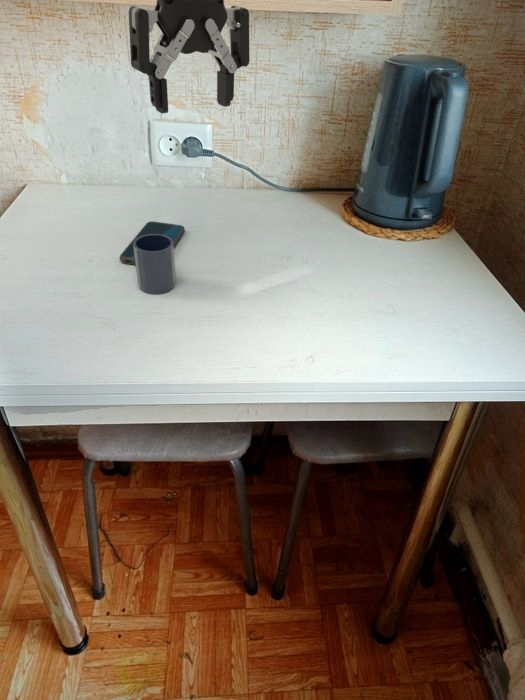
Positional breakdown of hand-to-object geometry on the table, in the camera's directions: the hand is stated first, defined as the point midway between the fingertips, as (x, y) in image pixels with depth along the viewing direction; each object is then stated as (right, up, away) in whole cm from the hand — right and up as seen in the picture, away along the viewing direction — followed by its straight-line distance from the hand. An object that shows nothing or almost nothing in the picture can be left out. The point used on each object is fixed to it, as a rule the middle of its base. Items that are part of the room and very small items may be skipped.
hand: (193, 108), depth 63 cm
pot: (-9, -19, +20) cm, 29 cm away
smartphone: (-11, -11, +30) cm, 34 cm away
